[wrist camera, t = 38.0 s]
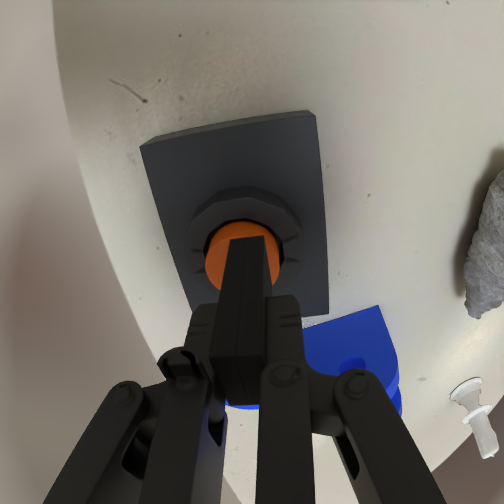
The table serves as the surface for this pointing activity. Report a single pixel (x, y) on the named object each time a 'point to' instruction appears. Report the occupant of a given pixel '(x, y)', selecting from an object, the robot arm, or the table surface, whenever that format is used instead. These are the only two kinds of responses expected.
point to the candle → (477, 416)
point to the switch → (221, 244)
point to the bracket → (353, 350)
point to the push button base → (244, 199)
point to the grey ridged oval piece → (487, 255)
